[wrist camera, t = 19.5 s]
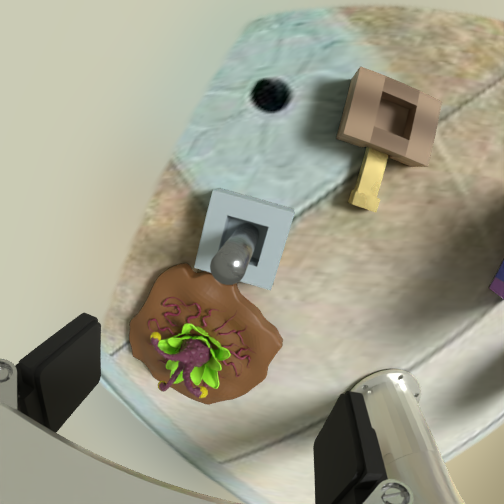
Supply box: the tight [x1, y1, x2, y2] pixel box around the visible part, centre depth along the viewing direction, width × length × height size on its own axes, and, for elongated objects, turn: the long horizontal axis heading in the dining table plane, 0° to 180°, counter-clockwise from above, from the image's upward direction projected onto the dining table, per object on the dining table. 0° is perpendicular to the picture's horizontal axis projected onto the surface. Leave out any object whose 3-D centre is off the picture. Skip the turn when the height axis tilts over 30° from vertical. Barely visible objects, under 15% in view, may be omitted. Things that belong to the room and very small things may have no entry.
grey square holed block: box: [194, 188, 294, 290], centre depth 36 cm, size 9×9×4 cm
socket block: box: [336, 67, 442, 167], centre depth 31 cm, size 8×10×5 cm
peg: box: [210, 223, 259, 285], centre depth 31 cm, size 3×3×13 cm
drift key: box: [348, 147, 389, 212], centre depth 33 cm, size 12×3×2 cm, turn 165°
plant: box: [129, 263, 283, 404], centre depth 38 cm, size 20×20×11 cm
